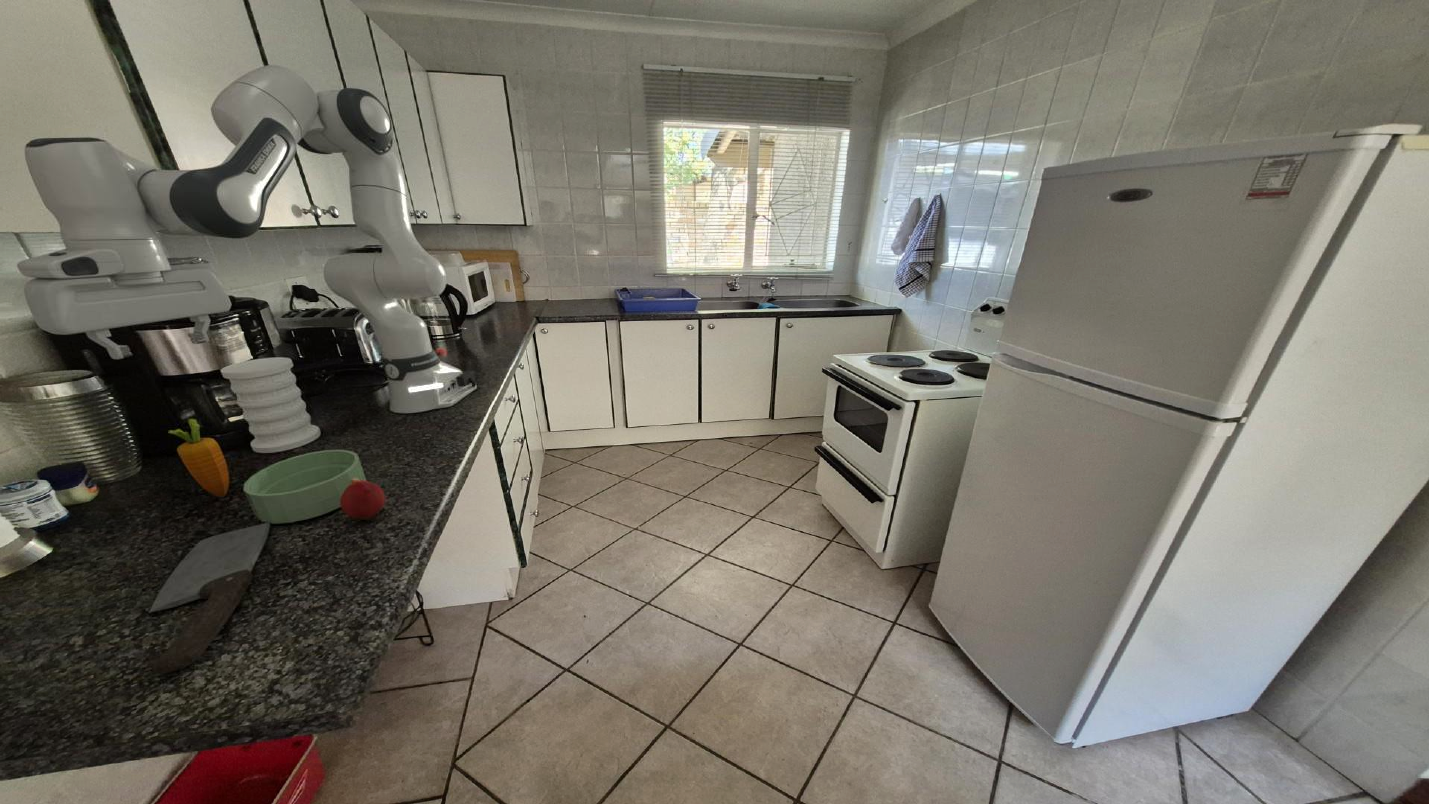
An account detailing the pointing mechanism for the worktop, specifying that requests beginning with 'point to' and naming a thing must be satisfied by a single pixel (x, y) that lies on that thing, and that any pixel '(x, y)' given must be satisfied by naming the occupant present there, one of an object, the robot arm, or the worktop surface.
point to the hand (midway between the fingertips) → (164, 350)
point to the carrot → (203, 460)
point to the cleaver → (208, 590)
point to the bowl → (302, 486)
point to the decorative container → (271, 404)
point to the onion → (362, 499)
